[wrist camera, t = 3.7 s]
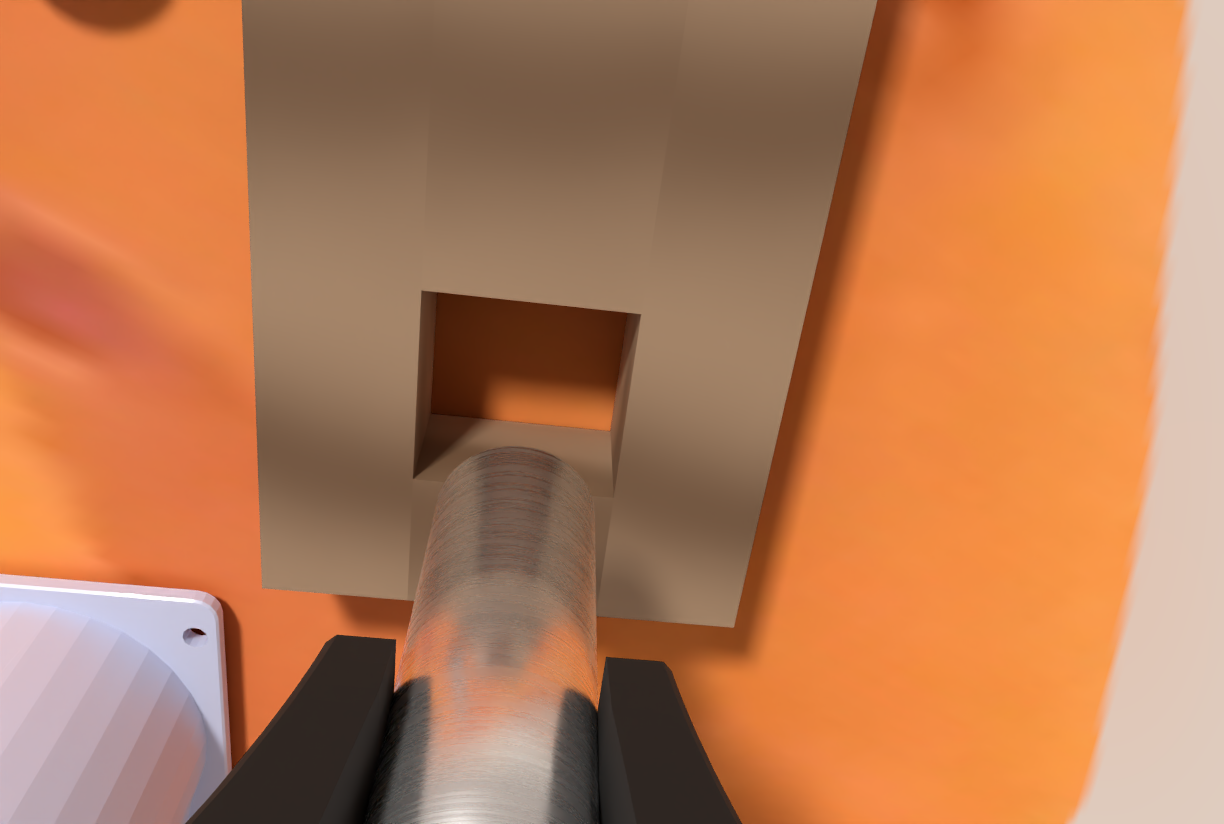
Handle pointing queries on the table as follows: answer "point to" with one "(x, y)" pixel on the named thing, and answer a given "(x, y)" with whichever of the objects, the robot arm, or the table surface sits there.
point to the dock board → (536, 262)
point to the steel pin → (499, 655)
